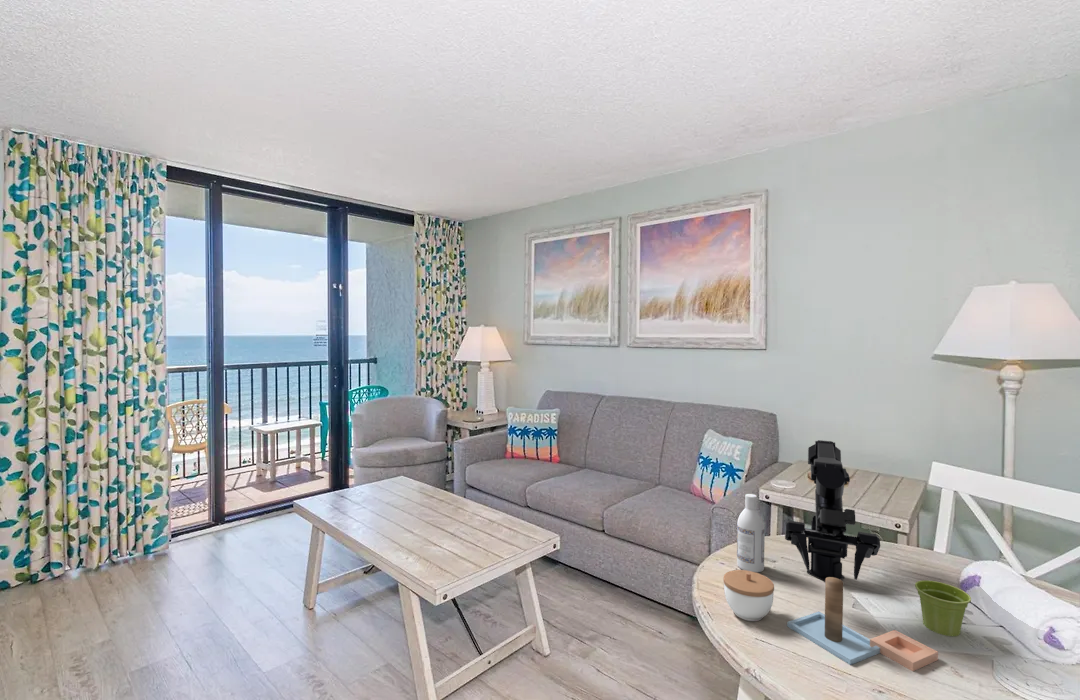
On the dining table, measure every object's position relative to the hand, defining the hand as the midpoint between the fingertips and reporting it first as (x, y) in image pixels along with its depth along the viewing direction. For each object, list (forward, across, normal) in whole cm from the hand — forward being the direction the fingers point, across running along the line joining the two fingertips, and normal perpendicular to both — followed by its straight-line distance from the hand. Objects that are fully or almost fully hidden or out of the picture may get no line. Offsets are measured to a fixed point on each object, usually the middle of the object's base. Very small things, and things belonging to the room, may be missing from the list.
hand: (831, 574), depth 111 cm
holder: (+13, +12, +1) cm, 18 cm away
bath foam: (-6, -17, +23) cm, 29 cm away
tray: (+13, 0, +1) cm, 13 cm away
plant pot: (+3, +22, +12) cm, 25 cm away
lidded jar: (+11, -17, +5) cm, 21 cm away
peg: (+13, 0, +1) cm, 13 cm away
